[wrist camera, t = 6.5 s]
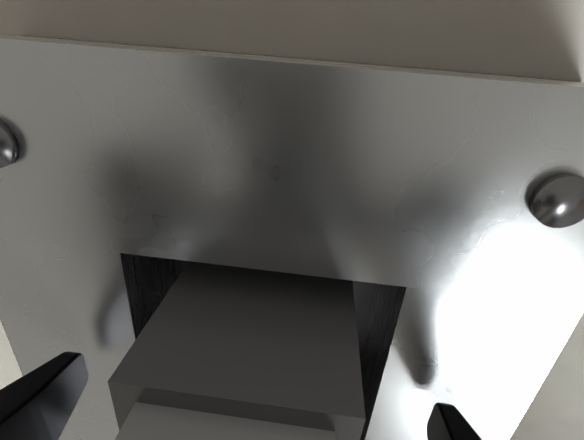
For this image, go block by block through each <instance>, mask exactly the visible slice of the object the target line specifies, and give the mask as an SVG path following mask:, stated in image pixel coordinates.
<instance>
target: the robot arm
mask: <svg viewBox="0 0 584 440" xmlns="http://www.w3.org/2000/svg"><path fill="white" fill-rule="evenodd" d="M88 377H89V374H88V370H87V366H86V363H85V359H84V356H83V355H82V354H81V353H78V352H70V351H67V352H63V353H61V354H60V355H58V356H56V357H55V358H53V359H51V360H50V361H48V362H46V363H44V364H43V365H41V366H39V367H38V368H36V369H34V370H33V371H31V372H29V373H28V374H26V375H24V376H23V377H21V378H19V379H18V380H16V381H14V382H13V383H11V384H9V385H8V386H6V387H4V388H3V389H1V390H0V440H58V439H59V438H60V436H61V434H62V432H63V430H64V428H65V426H66V424H67V422H68V420H69V418H70V416H71V414H72V412H73V410H74V408H75V406H76V404H77V402H78V400H79V398H80V396H81V394H82V392H83V390H84V388H85V386H86V384H87V382H88ZM427 439H428V440H482V439H481V438H480V437H479V435H478V434H477V433H476V432H475V430H474V429H473V428H472V427H471V425H470V424H469V423H468V422H467V420H466V419H465V418H464V417H463V415H462V414H461V413H460V412H459V410H458V409H457V408H456V407H455V406H454V405H452V404H447V403H439V402H437V403H436V404H435V405H434V407H433V409H432V412H431V414H430V417H429V420H428V422H427Z"/></svg>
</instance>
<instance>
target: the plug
mask: <svg viewBox="0 0 584 440" xmlns="http://www.w3.org/2000/svg"><path fill="white" fill-rule="evenodd" d="M108 386H109V390H110V394H111V398H112V402H113V407H114V411H115V415H116V419H117V423H118V428H119V433H118V435H117V436H116V438H115V440H360V438H361V434H362V430H363V427H364V423H365V419H366V418H365V408H364V397H363V387H362V376H361V365H360V355H359V344H358V334H357V323H356V313H355V302H354V292H353V281H351V280H343V279H335V278H326V277H318V276H310V275H301V274H293V273H284V272H276V271H268V270H259V269H251V268H242V267H234V266H226V265H217V264H209V263H201V262H192V261H189V262H188V263H187V265H186V266H185V268H184V269H183V270H182V272H181V273H180V275H179V276H178V278H177V279H176V281H175V282H174V284H173V285H172V287H171V288H170V290H169V291H168V293H167V294H166V296H165V297H164V299H163V300H162V302H161V303H160V305H159V306H158V308H157V309H156V310H155V312H154V313H153V315H152V316H151V318H150V319H149V321H148V322H147V324H146V325H145V327H144V328H143V330H142V331H141V333H140V334H139V336H138V337H137V339H136V340H135V342H134V343H133V345H132V346H131V348H130V349H129V350H128V352H127V353H126V355H125V356H124V358H123V359H122V361H121V362H120V364H119V365H118V367H117V368H116V370H115V371H114V373H113V374H112V376H111V377H110V379H109V380H108Z"/></svg>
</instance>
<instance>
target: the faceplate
mask: <svg viewBox="0 0 584 440" xmlns="http://www.w3.org/2000/svg"><path fill="white" fill-rule="evenodd" d="M189 261H192V262H201V263H209V264H217V265H226V266H234V267H242V268H251V269H259V270H268V271H276V272H284V273H293V274H301V275H310V276H318V277H326V278H335V279H343V280H351V281H353V292H354V302H355V313H356V323H357V334H358V344H359V355H360V365H361V376H362V387H363V397H364V408H365V418H366V419H365V423H364V427H363V430H362V434H361V438H360V440H428V439H427V422H428V420H429V417H430V414H431V412H432V409H433V407H434V405H435V404H436V403H437V402H439V403H447V404H452V405H454V406H455V407H456V408H457V409H458V410H459V412H460V413H461V414H462V415H463V417H464V418H465V419H466V420H467V422H468V423H469V424H470V425H471V427H472V428H473V429H474V430H475V432H476V433H477V434H478V435H479V437H480V438H481V439H482V440H510V438H511V436H512V434H513V433H514V431H515V429H516V428H517V426H518V424H519V422H520V421H521V419H522V417H523V416H524V414H525V412H526V410H527V409H528V407H529V405H530V404H531V402H532V400H533V398H534V397H535V395H536V393H537V392H538V390H539V388H540V386H541V385H542V383H543V381H544V380H545V378H546V376H547V374H548V373H549V371H550V369H551V368H552V366H553V364H554V362H555V361H556V359H557V357H558V356H559V354H560V352H561V350H562V349H563V347H564V345H565V344H566V342H567V340H568V338H569V337H570V335H571V333H572V332H573V330H574V328H575V326H576V325H577V323H578V321H579V319H580V318H581V316H582V314H583V313H584V82H574V81H562V80H550V79H538V78H526V77H514V76H501V75H489V74H477V73H465V72H453V71H441V70H429V69H417V68H405V67H393V66H381V65H369V64H357V63H345V62H332V61H320V60H308V59H296V58H284V57H272V56H260V55H248V54H236V53H224V52H212V51H200V50H188V49H176V48H163V47H151V46H139V45H127V44H115V43H103V42H91V41H79V40H67V39H55V38H43V37H31V36H19V35H0V320H1V322H2V325H3V327H4V330H5V332H6V335H7V337H8V340H9V342H10V345H11V347H12V350H13V352H14V355H15V357H16V360H17V362H18V365H19V367H20V370H21V372H22V375H23V376H24V375H26V374H28V373H29V372H31V371H33V370H34V369H36V368H38V367H39V366H41V365H43V364H44V363H46V362H48V361H50V360H51V359H53V358H55V357H56V356H58V355H60V354H61V353H63V352H67V351H70V352H78V353H81V354H82V355H83V356H84V359H85V363H86V366H87V370H88V374H89V377H88V382H87V384H86V386H85V388H84V390H83V392H82V394H81V396H80V398H79V400H78V402H77V404H76V406H75V408H74V410H73V412H72V414H71V416H70V418H69V420H68V422H67V424H66V426H65V428H64V430H63V432H62V434H61V436H60V438H59V439H58V440H115V438H116V436H117V435H118V433H119V428H118V423H117V419H116V415H115V411H114V407H113V402H112V398H111V394H110V390H109V386H108V380H109V379H110V377H111V376H112V374H113V373H114V371H115V370H116V368H117V367H118V365H119V364H120V362H121V361H122V359H123V358H124V356H125V355H126V353H127V352H128V350H129V349H130V348H131V346H132V345H133V343H134V342H135V340H136V339H137V337H138V336H139V334H140V333H141V331H142V330H143V328H144V327H145V325H146V324H147V322H148V321H149V319H150V318H151V316H152V315H153V313H154V312H155V310H156V309H157V308H158V306H159V305H160V303H161V302H162V300H163V299H164V297H165V296H166V294H167V293H168V291H169V290H170V288H171V287H172V285H173V284H174V282H175V281H176V279H177V278H178V276H179V275H180V273H181V272H182V270H183V269H184V268H185V266H186V265H187V263H188V262H189Z"/></svg>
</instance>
